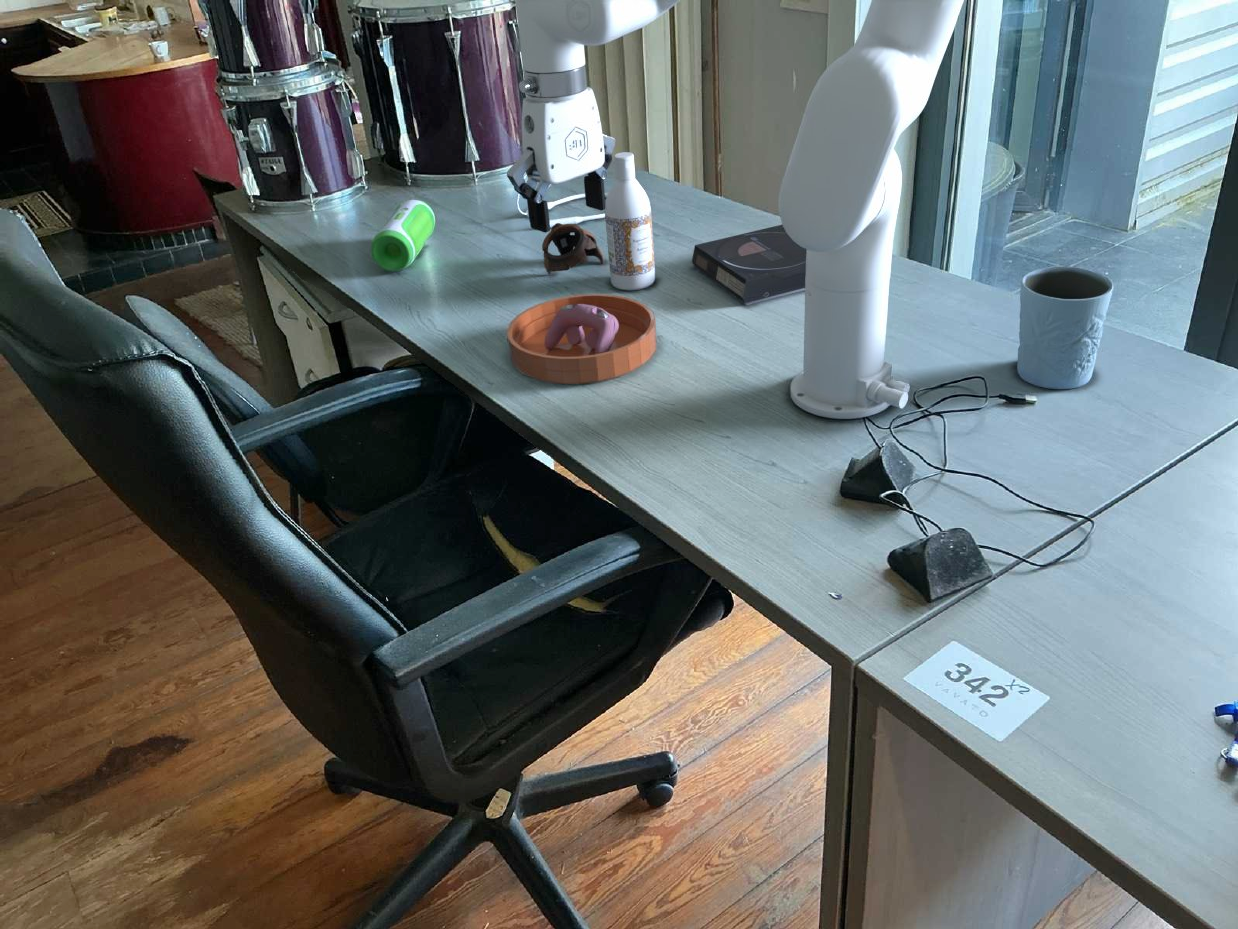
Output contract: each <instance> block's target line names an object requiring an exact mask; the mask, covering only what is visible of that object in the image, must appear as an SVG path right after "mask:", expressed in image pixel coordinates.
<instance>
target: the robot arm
mask: <svg viewBox="0 0 1238 929" xmlns="http://www.w3.org/2000/svg"><path fill="white" fill-rule="evenodd" d="M681 1H682V0H514V2H515V10H516V20H517V28H518V29H517V30H518V37H519V46H520V56H521V64H522V65H521V66H522V73H523V80H522V81H519V83H518V89H519V91H520V92H521V93H522V94H525V97H524V98H522V99H523V100H522V106H521V107H522V108H521V146H522V147H521V148H522V154H521V155H520V157H519V158H518V159H517V160H516V161H515V162H514V163H513V164H512V165H511V166H510V167H509V169H508V170H507V171H506V178H508V181H509V182H510V184H511V185H512V186H513V189H514V190H513V191H514V192H516V193H517V194H518V193H519V196H521V198H522V199H523V200H526V204H527V210H528V213H529V217H528V221H529V224H530V228H531V229H533V230H535V231H539V232H541V233H550V231H551V228H550V221H549V220H550V214H549V212H550V211H549V210H548V203H547V202H548V201H547V200H544V198H545V196H546V194H547V191H548V189H549V188H550V186H549V184H552V185H553V186H554V185H560V184H563V183H566V182H569V181H571V180H574V179H578V178H580V177H583V186H584V194H585V197H584V200H585V205H586V207H588V208H591V209H595V210H598V211H605V208H606V205H605V203H606V197H605V193H606V192H605V181H604V180H605V179H606V178H607V177H608V174H609V173H608V169H609V167H610V166H611V163H612V161H613V156H612V155H613V153H614V149H615V145H616V139H615V138H614V137H612V136H609V135H606V134H603V129H602V123H601V117H600V112H599V107H598V103H597V100H596V97H595V93H594V91H593V90H594V89H593V88H591V87H590V86H588V81H587V69H586V57H585V56H586V55H585V46H590V47H595V46H601V45H605V44H608V43H610V42H613V41H614V40H617V39H620V38H621V37H623V36H625V35H628V34H630V33H632V32H635V31H638V30H640V29H642V28H644V27H646V26H648V25H649V24H651V23H652V22H654V21H655V20H657V19H658V18H660V17H661V16H662V15H663V14H665V13H666V12H668V11H669V10H670V9H671V8H673V7H674V6H676V5H677V4H678V3H679V2H681ZM964 2H965V0H871V2H870V5H869V7H868V11H867V13H866V15H865V18H864V21H863V24H862V25H861V26H862V27H861V30H860V31H859V34H858V37H857V39H856V41H855V43H854V44H853V46H852V47H851V48H850V49H849V50H848V51H847V52H846V53H844V54H843V55H842V56H840V57H838V58H837V59H836V60H835V61H833V62H832V63H831V64H830V65H829V66H827V67H826V69H825V70H824V71H823V73H822V74H821V75H820V77H819V78H818V80H817V81H816V84H815V85H814V87H813V89H812V91H811V94H810V96H809V99H808V101H807V103H806V106H805V109H804V113H803V116H802V119H801V122H800V125H799V128H798V131H797V134H796V137H795V141H794V143H793V147H792V150H791V152H790V156H789V159H788V163H787V165H786V169H785V171H784V175H783V178H782V182H781V185H780V189H779V195H778V213H779V218H780V221H781V225H782V224H783V227H784V229H785V231H786V232H787V234H788V235H789V236H790V238H791V239H792V240H793V241H794V242H795V243H797V244H798V245H800V246H801V247H803V248H805V249H807V254H806V276H805V290H804V318H803V319H804V320H803V322H804V325H803V326H804V327H803V368H802V369H803V370H802V371H801V372H799V373H798V374H797V375H795V376H794V377H793V378H792V380H791V382H790V386H789V388H790V391H789V394H790V399H791V400H792V401H793V403H794V404H795V405H796V406H798V408H800V409H802V411H805V412H807V413H810V414H811V415H815V416H818V417H821V418H822V417H823V418H827V419H837V420H854V419H862V418H867V417H871V416H873V415H876V414H879V413H881V412H883V411H885V410H886V409H887V408H889V407H890V406H892V407H895V408H899V409H900V410H901V409H904V408H905V406H906V405H907V403H908V400H909V394H908V393H909V392H910V387H911V385H910V384H909V383H907V382H904V381H902V380H896V379H894V377H893V376H892V371H893V370H892V369H893V364H891V363H889V362H885V355H886V354H885V353H886V351H885V350H886V337H887V322H888V306H889V291H890V279H891V270H892V257H893V246H894V237H895V230H896V224H897V219H898V213H899V206H900V201H901V195H902V185H903V184H902V183H903V172H902V166H901V161H900V159H899V156H898V154H897V152H896V150H895V146H896V144H897V142H898V140H899V138H900V136H901V134H902V133H903V132H904V131H905V130H906V129H907V128H908V127H909V126H910V125H911V124H912V123H914V121H915V120H916V119H917V118H918V117H919V116H920V114H921V113H922V112H923V110H924V109H925V107H926V105H927V102H928V101H929V98H930V94H931V92H932V89H933V85H934V84H935V79H936V77H937V74H938V71H939V70H940V65H941V63H942V61H943V58H944V55H945V53H946V50H947V48H948V45H949V43H950V40H951V38H952V35H953V32H954V30H955V28H956V23H957V21H958V17H959V15H960V12H961V9H962V7H963V5H964ZM525 174H526V175H527V176H526V177H527V181H526V178H525V179H524V176H525ZM552 185H551V186H552Z"/></svg>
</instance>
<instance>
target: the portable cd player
mask: <svg viewBox="0 0 1238 929" xmlns="http://www.w3.org/2000/svg"><path fill="white" fill-rule="evenodd" d="M806 254H807V249H805V248H803V247H801V246H800V245H798V244H797V243H795V242H794V241H793V240H792V239H791V238H790V236H789V235H788V234H787V232H786V231H785V229H784V227H783V224H782V223H781V224H778V225H775V226H774V225H773V226H770V227H767V228H762V229H757V230H754V231H753V230H752V231H748V232H744V233H741V234H737V235H732V236H728V237H724V238H719V239H714V240H710V241H706V242H702V243H698V244H694V247H693V254H692V260H691V263H692V265H693V267H694V269H695V270H696V271H697V272H699V273H700V274H702V275H703V276H704V277H706V278H708V279H709V280H710V281H712V282H713V283H715V285H717V286H718V287H720V288H721V289H723V290H724V291H726V292H727V293H729V294H730V295H731V296H733V297H734V298H736V300H738V301H740V302H741V303H743V304H744V305H745V306H749V305H753V304H758V303H761V302H765V301H768V300H772V299H773V300H774V299H776V298H781V297H785V296H788V295H792V294H795V293H796V294H797V293H800V292H805V276H806Z"/></svg>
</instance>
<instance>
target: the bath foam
mask: <svg viewBox="0 0 1238 929" xmlns="http://www.w3.org/2000/svg"><path fill="white" fill-rule="evenodd" d="M613 165H614V167H613V168H614V177H615V180H614V182H613V184H612V185H611V187H610V189H609V192H608V193H607V194H608V196H607V197H606V198H605V205H606V208H605V209H604V213H605V217H604V221H605V232H606V242H607V255H608V265H609V275H610V276H609V277H610V283H611V285H612V286H613V287H614V288H616V289H618V290H622V291H637V290H642V289H646V288H648V287H650V286H652V285H653V284H654V282H655V281H656V269H655V254H654V253H655V252H654V251H655V250H654V236H653V222H652V221H653V220H652V208H651V202H650V199H649V197H648V195H647V194H648V193H646V191H645V190H644V188H643V187H642V185H641V184H640V182H639V181H638V180H637V179H636V170H635V157H634V154H633V152H628V151H623V152H617V153H615V154H614V155H613Z"/></svg>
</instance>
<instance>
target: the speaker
mask: <svg viewBox="0 0 1238 929" xmlns="http://www.w3.org/2000/svg"><path fill="white" fill-rule="evenodd" d="M435 227H436V216H435V212H434V210H433V209H432V207H431V206H430V205H429V204H428V203H426V202H425V201H423V200H420V199H409V200H406V201H404V202H402V203H400V204H399V205H398V206H397V207H396V208H395V210H394V213H392V215H391V216H390V218H389V219H388V220H387V221H386V223H385V224H384V225H383V226H382V227H381V228H380V229H379V230H378V231H377V232H376V234H375V235H374V237H373V239H372V242H371V255H372V258H373V260H374V262H375V264H377V265H378V266H379V267H380V268H382V269H383V270H385V271H388V272H400V271H402V270H404V269H406V268H408V267H409V266H411V265H412V264H413V263H414V261H415V259H417V257H418V255H419V253H420V252H421V250H422V249H423V248H424V245H425V243H426V241H427V240H428V239H429V238H430V237H431V235H432V234H433V233H434V231H435Z"/></svg>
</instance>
